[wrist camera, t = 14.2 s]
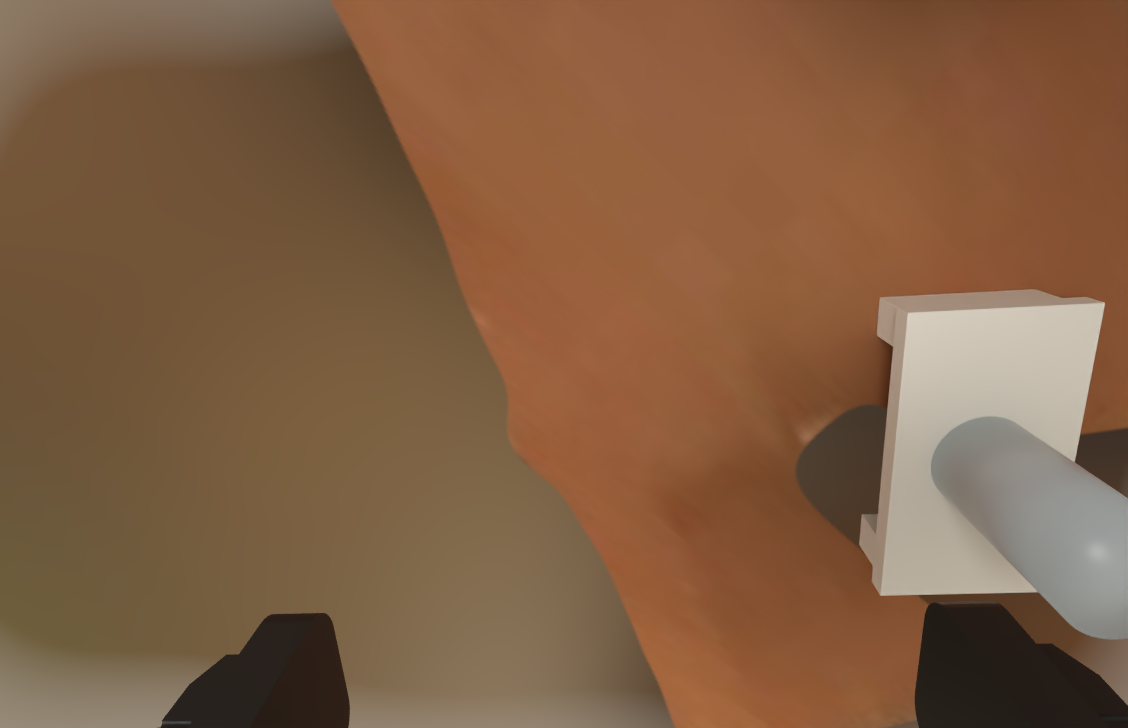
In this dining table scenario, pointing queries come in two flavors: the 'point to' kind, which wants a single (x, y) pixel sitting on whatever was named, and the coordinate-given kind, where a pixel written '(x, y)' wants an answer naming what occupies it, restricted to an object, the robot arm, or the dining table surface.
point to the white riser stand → (956, 395)
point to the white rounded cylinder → (1042, 519)
